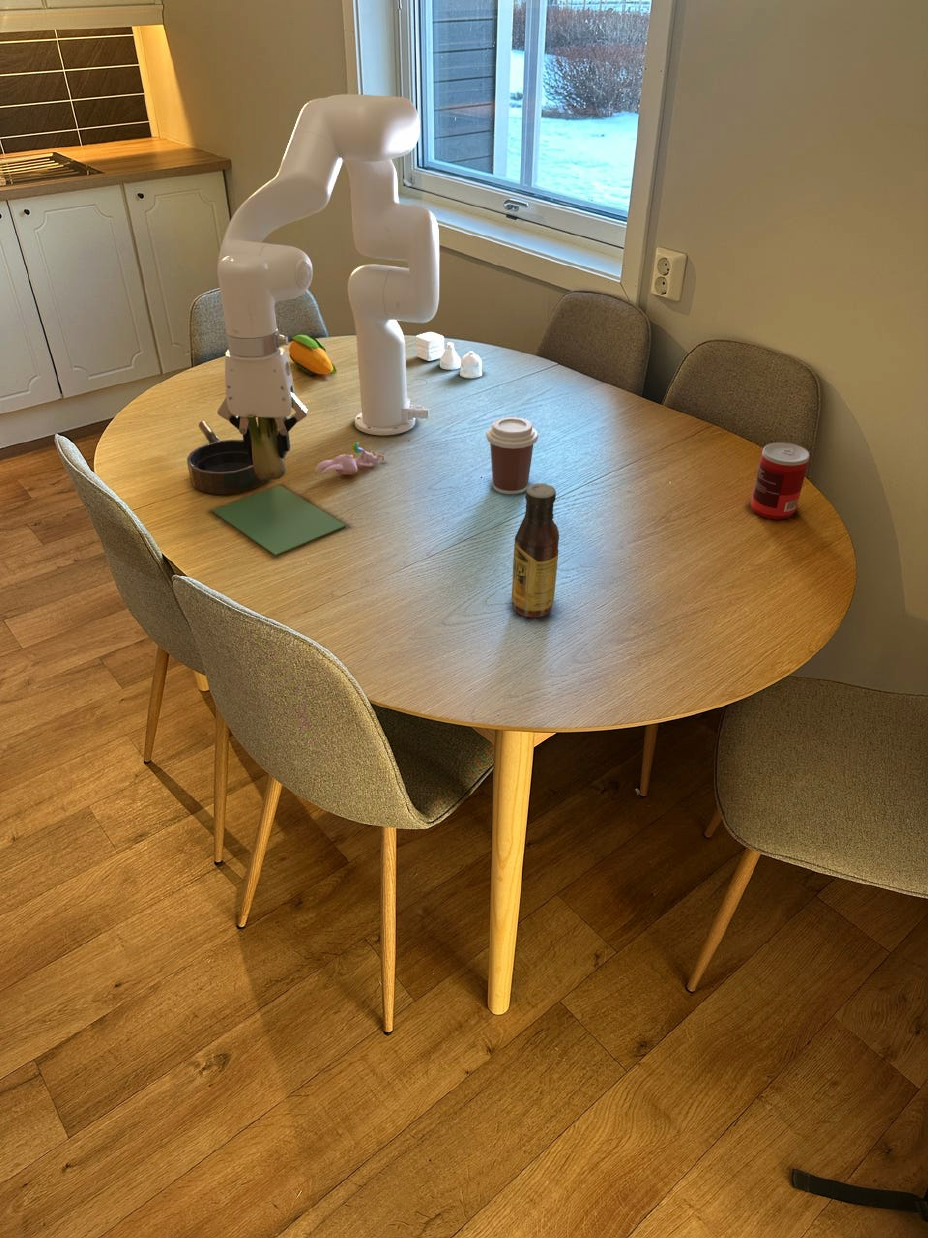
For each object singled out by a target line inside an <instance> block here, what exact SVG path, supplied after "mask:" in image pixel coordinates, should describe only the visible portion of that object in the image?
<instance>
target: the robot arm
mask: <svg viewBox="0 0 928 1238" xmlns="http://www.w3.org/2000/svg"><path fill="white" fill-rule="evenodd" d="M420 125H421V124H420V117H419V112H418V110H417V108H416V106H415V104H414V103H413V102H412V101H411V100H410V99H408V98H406V97H404V96H394V95H392V96H391V95H372V94H371V95H369V94H358V93H357V94H355V93H342V94H334V95H329V96H327V97H318V98H315V99H312V100H309V101H308V102H307V103H306V104H304V106H303V107H302V109H301V111H300V112H299V115H298V118H297V120H296V123H295V126H294V129H293V131H292V134H291V136H290V140H289V143H288V144H287V147H286V150H285V153H284V155H283V158H282V161H281V164H280V166H279V169H278V172H277V173H276V176H275V177H274V178H273V179H271V180H269V181H268V182H267V183H265V184H264V185H262V187H260V188H258V189H257V190H256V191H255V192H254V193H253V194H252V195H251V196H250V197H248V198H247V199H246V200H245V201H244V202H243V203H242V204H241V205H240V206H239V207H238V208H237V209H236V210H235V212H234V214H233V215H232V216H231V219H230V220H229V223H228V226H227V229H226V231H225V234H224V236H223V240H222V242H221V245H220V249H219V253H218V261H217V268H216V271H217V277H218V278H217V279H218V286H219V292H220V299H221V306H222V307H221V308H222V313H223V321H224V326H225V333H226V338H227V339H226V341H227V345H228V346H227V347H228V349H227V350H226V352H225V356H224V357H225V358H224V382H225V398H224V400H223V401H222V403H221V405H220V406H219V408H218V409H217V415H218V416H219V417H221V418H223V419H224V420H226V421H228V422H229V424H230V425H232V426H233V427H235V428H236V429H237V430H238V432H239V434H240V435H242V440H243V441H244V448H245V450H246V451H248V456H249V458H253V457H252V440H251V433H250V427H249V422H248V415H249V414H250V416H252V415H255V416H256V418H258V417H264V418H275V421H276V424H277V427H278V431H279V433H278V435H277V441H278V449H279V457H281V458H285V459H286V455H287V454H288V452H290V451H291V442H290V434H289V431H291V430H292V429H293V428H294V426H295V425H296V424H297V423H299V422H301V421H302V420H303V419H305V418H306V417H307V415H308V413H309V410H308V408H306V406H305V405H304V404H303V403H302V402H301V401H300V399H299V398H298V397H297V396H296V390H295V385H294V383H295V382H294V377H293V374H292V369H291V365H290V361H289V357H288V354H287V351H286V349H285V348H284V347H283V346H288V345H289V338H288V336H287V335H283V334H281V333H280V330H279V329H278V324H277V317H276V316H277V315H276V308H275V307H276V306H275V304H276V303H278V302H282V301H283V302H284V301H290V300H293V299H296V298H298V297H299V298H300V296H302V295H303V294H305V292H307V290H308V289H309V288H310V286H311V284H312V281H313V277H314V269H313V264H312V261H311V258H310V257H309V256H308V254H307V253H306V252H304V251H303V250H301V249H300V248H298V247H295V246H293V245H292V246H291V245H285V244H276V243H275V244H274V243H271V242H270V243H268V242H263V241H264V240H265V239H266V238H267V237H268V236H269V235H270V234H272V233H273V232H274V231H276V230H278V229H280V228H281V227H284V226H286V225H288V224H291V223H294V222H297V221H300V220H303V219H305V218H308V217H311V216H313V215H315V214H317V213H319V212H321V211H323V210H324V209H325V208H326V207H327V205H328V204H329V201H330V199H331V197H332V196H331V195H332V192H333V191H334V187H335V184H336V182H337V179H338V176H339V173H340V172H341V171H340V170H341V167H342V166H343V163H344V166H345V168H346V171H347V175H348V179H349V188H350V189H349V190H350V191H349V192H350V206H351V223H352V237H353V242H354V243H353V244H354V247H355V249H356V251H357V252H358V253H359V254H360V255H362V256H364V257H367V258H370V259H371V258H372V259H380V260H388V261H398V262H405V263H406V264H407V267H400V266H393V265H387V264H386V265H384V264H376V263H375V264H371V263H370V264H363V265H361V266H358V267H357V268H355V269H354V270H353V271H352V272H351V274H350V275H349V277H348V280H347V281H348V282H347V297H348V301H349V305H350V309H351V314H352V317H353V322H354V328H355V337H356V349H357V351H356V353H357V364H358V365H357V366H358V379H359V392H360V394H359V395H360V409H361V412H359V413H358V414H357V415H356V416H355V417H354V426H355V428H356V429H357V430H359V431H360V432H362V433H365V434H368V435H374V436H394V435H399V434H402V433H406V432H408V431H410V430H411V429H412V428H413V427H415V426H416V419H423V420H424V419H425V420H427V419H428V420H429V417H430V409H429V408H425V406H424V405H413V404H411V398H410V397H408V389H407V365H406V364H407V363H406V361H407V360H406V341H405V336H404V333H403V330H402V328H401V326H400V324H399V322H407V323H416V324H425V323H428V322H430V321H432V320H433V319H434V318H435V316H436V314H437V311H438V307H439V301H440V239H439V238H440V235H439V234H440V232H439V226H438V222H437V220H436V217H435V215H434V214H433V212H432V211H431V210H430V209H429V208H427V207H425V206H421V205H416V204H405V203H404V204H403V203H401V202H400V201H399V192H398V174H397V169H396V167H395V165H394V161H393V159H398V158H401V157H405V156H407V155H408V154H410V153H411V152H412V151H413V150H414V148H415V146H416V144H417V143H418V139H419V136H420V127H421V126H420ZM292 409H293V411H294V412H295V413H293V414H292Z"/></svg>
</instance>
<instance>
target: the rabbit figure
mask: <svg viewBox="0 0 928 1238" xmlns="http://www.w3.org/2000/svg"><path fill="white" fill-rule="evenodd" d="M359 444H360V442H358V441H357V442H354V443H353V444H352V445H351V450H352V452H353V453H354V454H358V455H359V456H358V458H354V454H350V455H349V454H340V455H337V456H335V457H334V458H333V459H326V460H323V461H321V462H318V464H317V466H316V467H315V470H314V472H316V473H318V472H319V471H321V472H320V475H324V474H326V473H328V472H331V471H335V472H336V473H338V474H339V475H345V476H347V475H348V476H350V475H354V474H356V473H357V472H358V468H363V467H372V468H373V467H376V466H378V464H379V462H380V459H381V462H382V463H384V462H386V461H385V453H383V454H381V453H380V454H378V455H377V454H376V450H374V451H373V450H370V451H365V449H363V448H362V447H360V446H359Z"/></svg>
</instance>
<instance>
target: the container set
mask: <svg viewBox="0 0 928 1238" xmlns="http://www.w3.org/2000/svg"><path fill="white" fill-rule="evenodd" d="M445 346H446V348H445ZM415 356H416V357H417V358H420V359H422V360H425V361H427V362H429V361H430V362H431V361H434V360H438V359H439V367H440V368H441V369H443V370H449V371H450V370H451V371H452V370H457V369H460V371H459V376H460V377H461V378H465V379H478V378H480V377H482V376H483V371H482V366H483V365H482V359H481V357H480V355H478V354H477V353H474V351H468V353H466V354H464V355H463V356H462V358H460V356H459V355H458V353H457V352H456V350H455V345H454V343H453V342H447V343H446V345H445V337H444V336H443V335H442V334H439V333H436V332H433V331H427V332H424V333H420V334H417V335H416V336H415Z"/></svg>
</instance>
